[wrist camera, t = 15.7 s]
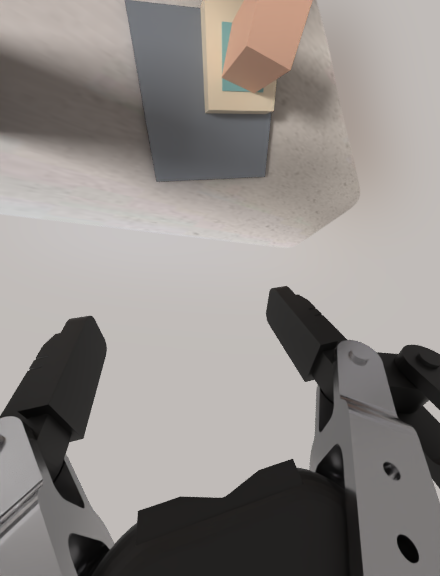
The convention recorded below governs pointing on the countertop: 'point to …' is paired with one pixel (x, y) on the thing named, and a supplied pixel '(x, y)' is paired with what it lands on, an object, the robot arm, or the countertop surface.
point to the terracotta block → (264, 41)
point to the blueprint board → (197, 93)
